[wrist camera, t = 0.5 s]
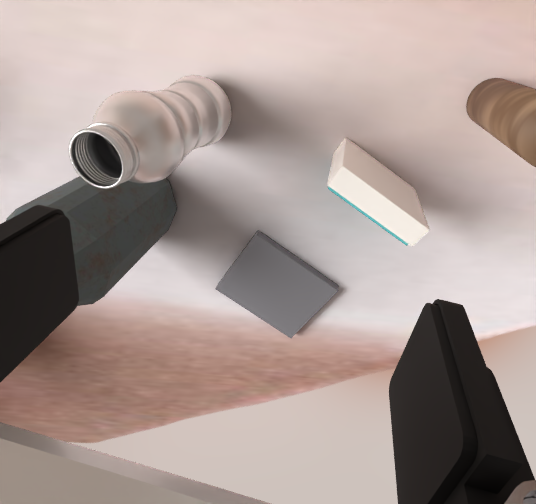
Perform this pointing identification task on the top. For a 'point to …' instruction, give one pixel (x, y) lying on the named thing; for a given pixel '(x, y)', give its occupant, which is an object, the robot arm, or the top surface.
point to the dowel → (506, 114)
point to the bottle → (109, 228)
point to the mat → (276, 285)
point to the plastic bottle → (149, 132)
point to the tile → (377, 193)
